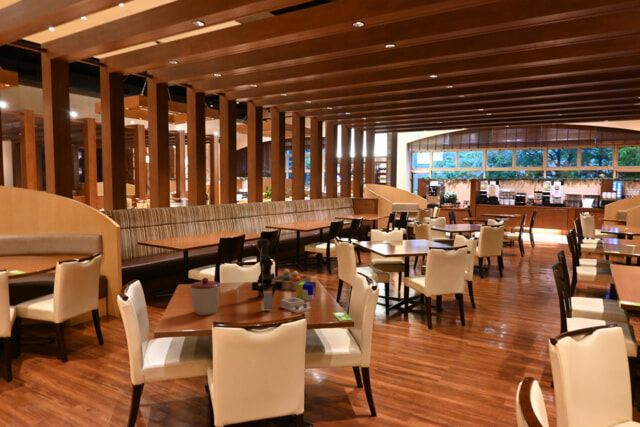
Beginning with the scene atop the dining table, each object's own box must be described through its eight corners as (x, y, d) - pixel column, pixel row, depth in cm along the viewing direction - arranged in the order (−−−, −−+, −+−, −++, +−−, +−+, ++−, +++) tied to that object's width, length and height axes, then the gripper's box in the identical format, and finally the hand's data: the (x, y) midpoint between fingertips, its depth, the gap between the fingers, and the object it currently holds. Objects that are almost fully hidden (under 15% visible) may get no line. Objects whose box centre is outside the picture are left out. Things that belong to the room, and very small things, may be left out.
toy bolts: (309, 285, 337) (310, 268, 336) (296, 289, 323) (296, 272, 322) (291, 282, 347) (291, 266, 346) (277, 286, 333) (277, 269, 332)
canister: (222, 316, 255) (222, 280, 254) (189, 318, 250) (189, 281, 249) (220, 307, 273) (219, 274, 271) (189, 309, 268) (189, 275, 266)
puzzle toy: (312, 300, 293) (312, 285, 292) (297, 299, 295) (298, 284, 294) (315, 296, 303) (315, 282, 302) (301, 295, 305) (301, 281, 304)
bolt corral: (269, 287, 327) (269, 279, 326) (284, 281, 348) (284, 273, 348) (296, 290, 318) (296, 282, 317) (310, 284, 339) (310, 276, 339)
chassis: (280, 306, 276) (280, 299, 276) (294, 303, 283) (294, 297, 282) (296, 313, 263) (296, 305, 263) (310, 309, 270) (311, 302, 270)
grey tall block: (263, 307, 269) (263, 289, 268) (271, 306, 270) (271, 289, 269) (263, 309, 264) (263, 291, 263) (272, 309, 265) (272, 291, 264)
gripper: (251, 269, 267) (252, 291, 257) (282, 268, 271) (284, 290, 261) (251, 279, 275) (252, 301, 265) (281, 278, 279) (282, 299, 269)
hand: (267, 297), depth 265 cm, fingers closed on grey tall block, 5 cm apart
